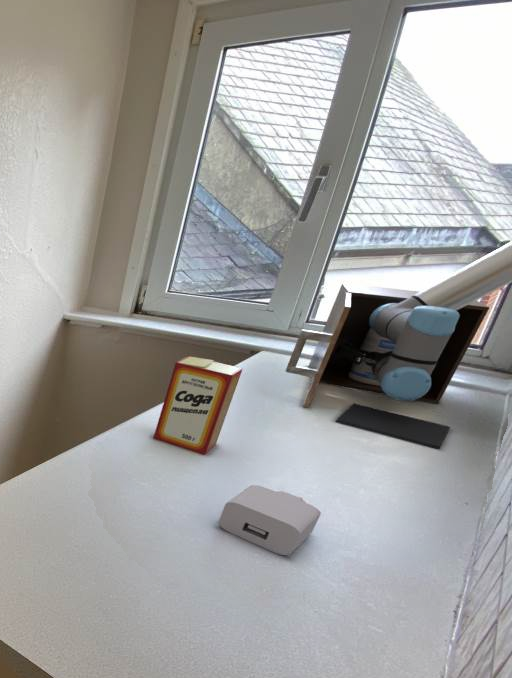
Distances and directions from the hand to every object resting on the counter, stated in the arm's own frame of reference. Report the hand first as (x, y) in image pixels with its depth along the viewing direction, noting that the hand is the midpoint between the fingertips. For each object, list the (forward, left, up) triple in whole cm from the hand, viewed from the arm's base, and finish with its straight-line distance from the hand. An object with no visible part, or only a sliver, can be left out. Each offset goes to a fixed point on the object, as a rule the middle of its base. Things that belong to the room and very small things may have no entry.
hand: (381, 350), depth 144 cm
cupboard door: (-14, +25, -9) cm, 30 cm away
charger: (-85, +61, -9) cm, 105 cm away
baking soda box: (-56, +64, -9) cm, 86 cm away
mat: (-34, +14, -9) cm, 38 cm away
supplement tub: (-2, +1, -8) cm, 9 cm away
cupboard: (-1, 0, -9) cm, 9 cm away
